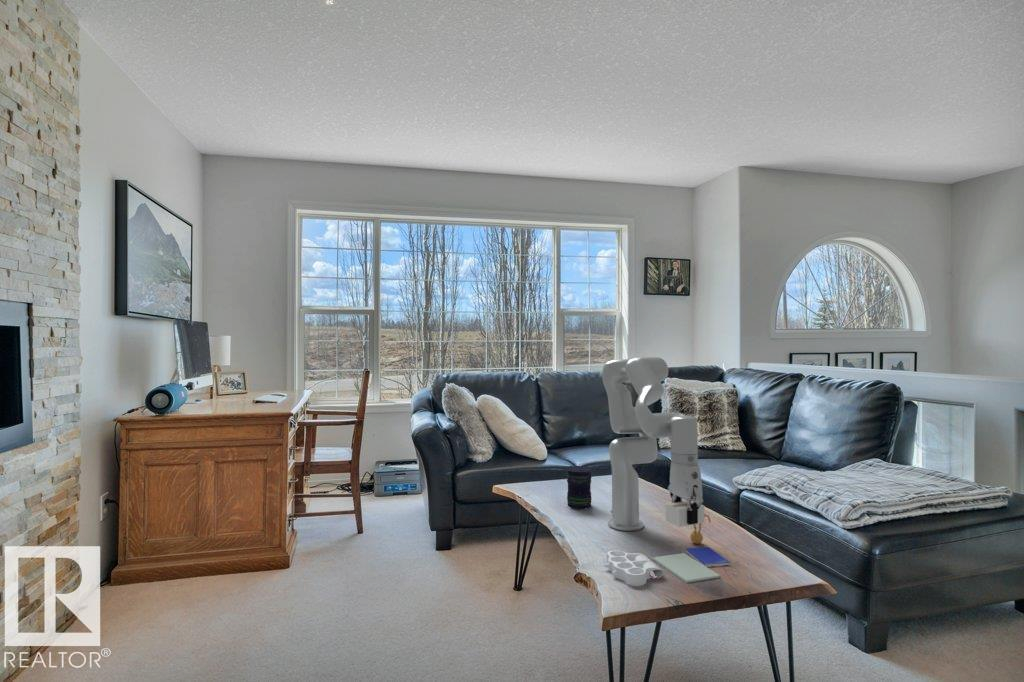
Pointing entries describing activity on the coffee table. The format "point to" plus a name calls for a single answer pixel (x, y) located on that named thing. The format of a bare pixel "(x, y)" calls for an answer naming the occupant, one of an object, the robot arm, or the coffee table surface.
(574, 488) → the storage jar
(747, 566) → the coffee table surface
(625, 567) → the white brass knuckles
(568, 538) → the coffee table surface
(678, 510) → the card box
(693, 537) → the figurine
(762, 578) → the coffee table surface
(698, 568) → the mat
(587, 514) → the coffee table surface
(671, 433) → the robot arm
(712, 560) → the hard drive
